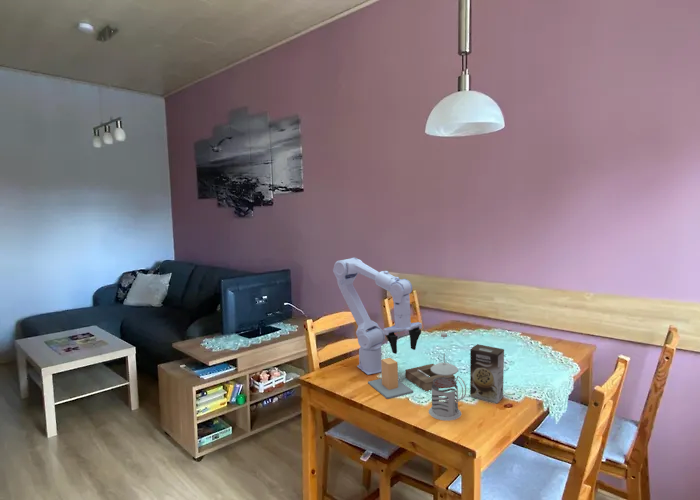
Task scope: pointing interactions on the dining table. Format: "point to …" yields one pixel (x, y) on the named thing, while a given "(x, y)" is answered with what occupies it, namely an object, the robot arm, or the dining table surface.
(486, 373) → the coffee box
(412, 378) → the brown wooden tray
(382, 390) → the mat
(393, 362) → the orange brown block
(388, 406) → the dining table surface
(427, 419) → the dining table surface
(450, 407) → the french press
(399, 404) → the dining table surface
